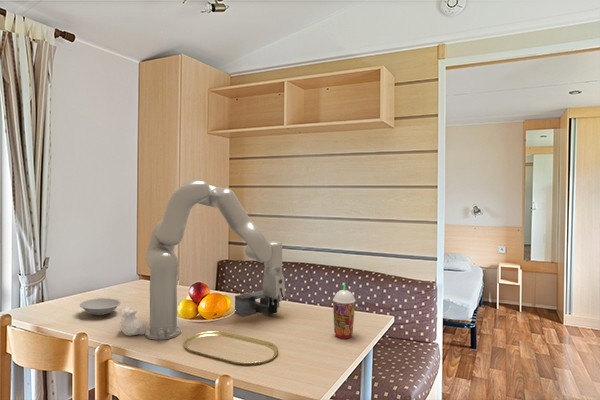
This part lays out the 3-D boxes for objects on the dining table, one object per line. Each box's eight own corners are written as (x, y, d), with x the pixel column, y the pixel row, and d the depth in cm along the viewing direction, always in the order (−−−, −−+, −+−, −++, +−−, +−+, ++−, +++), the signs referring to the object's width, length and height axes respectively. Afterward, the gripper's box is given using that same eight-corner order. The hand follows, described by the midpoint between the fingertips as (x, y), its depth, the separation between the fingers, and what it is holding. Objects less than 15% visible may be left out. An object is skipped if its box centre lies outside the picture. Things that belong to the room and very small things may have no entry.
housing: (279, 307, 187) (279, 290, 186) (242, 316, 173) (242, 298, 173) (271, 304, 191) (271, 288, 191) (234, 312, 178) (235, 295, 177)
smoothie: (328, 337, 151) (329, 283, 150) (337, 330, 158) (338, 279, 157) (350, 341, 147) (351, 286, 146) (357, 334, 154) (358, 281, 153)
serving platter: (208, 332, 156) (208, 327, 156) (288, 350, 139) (288, 346, 139) (171, 349, 139) (171, 344, 139) (258, 372, 123) (258, 367, 123)
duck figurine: (121, 336, 154) (104, 318, 148) (135, 320, 159) (119, 301, 153) (141, 343, 148) (124, 324, 142) (155, 326, 153) (139, 307, 147)
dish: (129, 313, 174) (129, 302, 174) (97, 323, 162) (97, 311, 162) (102, 307, 183) (102, 296, 183) (71, 316, 171) (71, 304, 170)
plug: (274, 313, 177) (274, 302, 177) (266, 315, 174) (266, 304, 174) (247, 303, 192) (247, 292, 192) (239, 305, 189) (239, 294, 189)
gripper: (291, 272, 171) (291, 315, 171) (269, 266, 182) (269, 307, 182) (277, 274, 166) (277, 319, 166) (255, 268, 177) (255, 310, 177)
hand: (273, 312), depth 174 cm, fingers closed
